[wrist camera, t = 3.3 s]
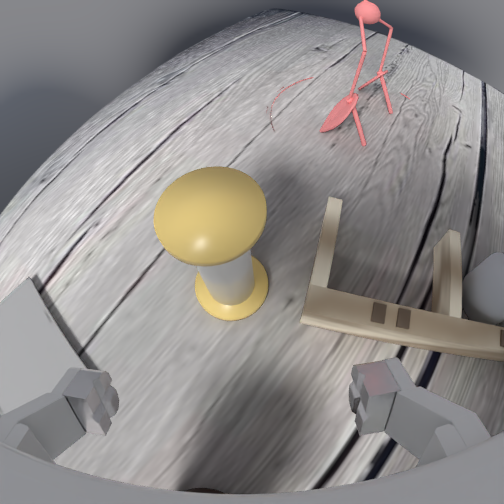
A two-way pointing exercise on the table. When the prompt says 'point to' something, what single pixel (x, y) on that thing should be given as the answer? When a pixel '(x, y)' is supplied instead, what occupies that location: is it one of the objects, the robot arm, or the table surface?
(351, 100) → the figurine
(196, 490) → the coffee mug
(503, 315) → the grey rounded cylinder
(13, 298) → the gadget
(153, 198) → the table surface
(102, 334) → the table surface
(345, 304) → the divided rack
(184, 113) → the table surface
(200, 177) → the ball
